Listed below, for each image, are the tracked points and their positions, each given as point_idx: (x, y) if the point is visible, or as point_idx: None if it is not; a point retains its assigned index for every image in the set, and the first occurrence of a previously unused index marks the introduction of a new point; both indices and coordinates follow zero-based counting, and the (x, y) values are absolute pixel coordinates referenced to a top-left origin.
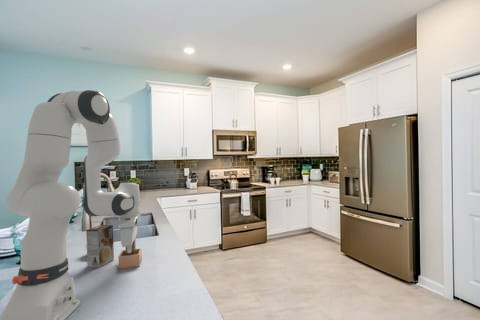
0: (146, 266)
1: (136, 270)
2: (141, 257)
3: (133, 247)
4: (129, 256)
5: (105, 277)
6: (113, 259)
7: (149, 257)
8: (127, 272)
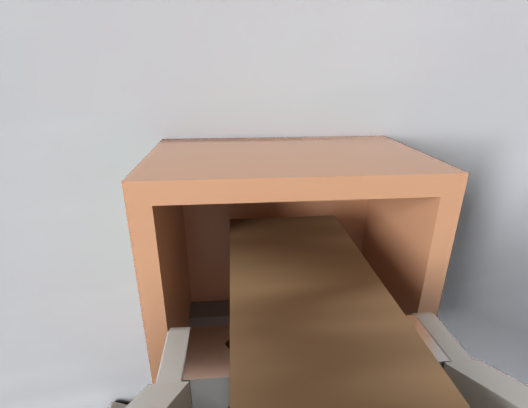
0: (421, 53)
1: (479, 153)
2: (178, 145)
3: (407, 339)
4: (434, 298)
5: (489, 359)
6: (119, 403)
7: (109, 38)
8: (482, 227)
